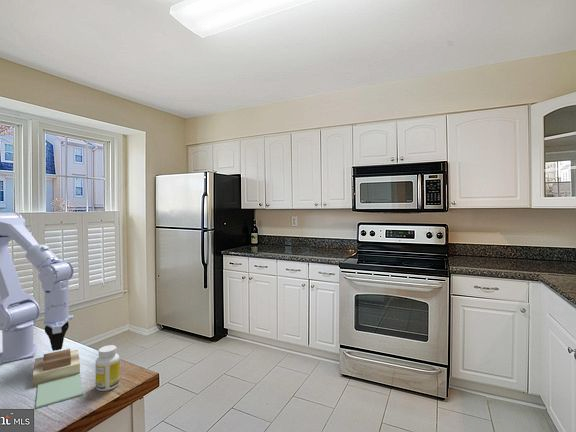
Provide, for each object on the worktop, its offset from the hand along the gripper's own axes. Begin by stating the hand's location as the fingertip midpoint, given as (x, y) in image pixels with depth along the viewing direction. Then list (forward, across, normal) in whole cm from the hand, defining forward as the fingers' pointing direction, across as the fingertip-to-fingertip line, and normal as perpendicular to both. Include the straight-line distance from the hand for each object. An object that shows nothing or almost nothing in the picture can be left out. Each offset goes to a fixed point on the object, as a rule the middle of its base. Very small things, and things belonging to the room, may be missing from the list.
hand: (57, 349), depth 93 cm
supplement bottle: (+4, -22, -10) cm, 25 cm away
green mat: (+4, -18, 0) cm, 18 cm away
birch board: (+4, -7, 0) cm, 8 cm away
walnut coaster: (+1, -8, 0) cm, 8 cm away
